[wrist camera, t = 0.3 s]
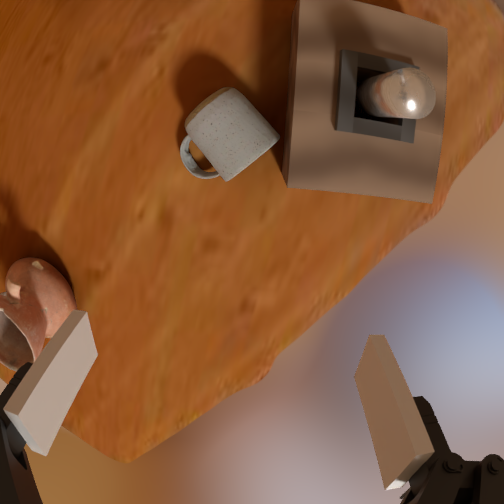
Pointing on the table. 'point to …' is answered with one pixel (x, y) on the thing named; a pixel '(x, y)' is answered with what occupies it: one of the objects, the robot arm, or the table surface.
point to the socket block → (343, 101)
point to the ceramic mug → (226, 134)
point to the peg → (397, 94)
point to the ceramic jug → (31, 310)
